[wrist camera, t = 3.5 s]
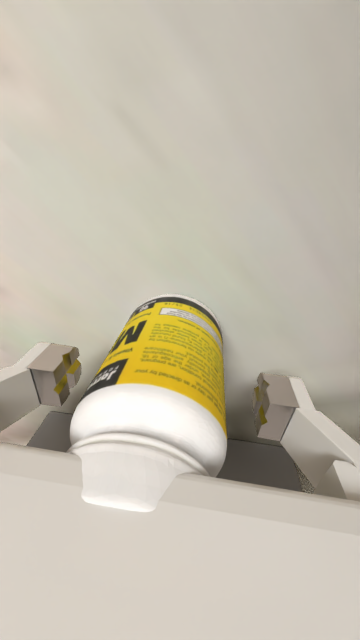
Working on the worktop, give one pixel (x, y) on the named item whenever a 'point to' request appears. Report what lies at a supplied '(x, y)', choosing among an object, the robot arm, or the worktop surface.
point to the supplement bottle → (153, 406)
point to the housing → (239, 464)
